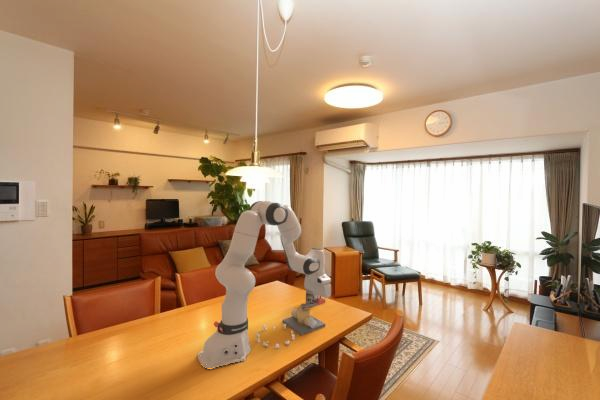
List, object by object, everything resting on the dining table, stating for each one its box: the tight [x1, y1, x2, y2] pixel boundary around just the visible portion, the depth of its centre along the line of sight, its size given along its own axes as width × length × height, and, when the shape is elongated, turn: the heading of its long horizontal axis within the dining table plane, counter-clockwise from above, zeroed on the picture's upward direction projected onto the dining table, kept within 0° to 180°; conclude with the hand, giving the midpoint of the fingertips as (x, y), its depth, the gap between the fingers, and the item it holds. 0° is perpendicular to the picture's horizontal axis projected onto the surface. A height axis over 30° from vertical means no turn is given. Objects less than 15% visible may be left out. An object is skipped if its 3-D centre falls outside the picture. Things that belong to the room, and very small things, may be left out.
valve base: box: [282, 307, 326, 336], centre depth 148 cm, size 16×17×9 cm
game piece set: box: [255, 323, 296, 349], centre depth 135 cm, size 19×20×4 cm
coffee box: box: [305, 288, 322, 307], centre depth 175 cm, size 9×6×16 cm
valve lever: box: [300, 297, 326, 309], centre depth 151 cm, size 15×3×2 cm, turn 126°
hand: (316, 300), depth 157 cm, fingers closed
